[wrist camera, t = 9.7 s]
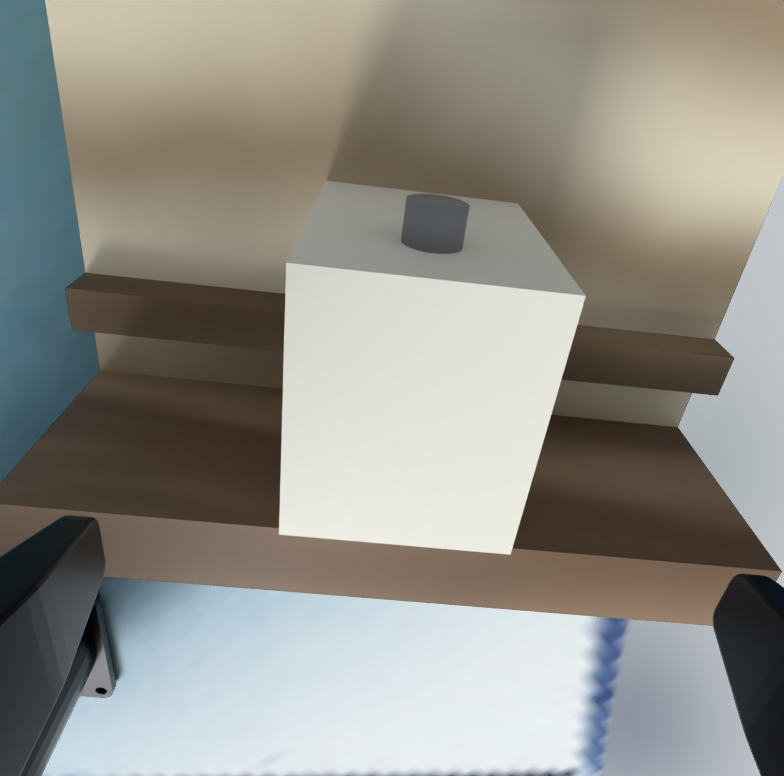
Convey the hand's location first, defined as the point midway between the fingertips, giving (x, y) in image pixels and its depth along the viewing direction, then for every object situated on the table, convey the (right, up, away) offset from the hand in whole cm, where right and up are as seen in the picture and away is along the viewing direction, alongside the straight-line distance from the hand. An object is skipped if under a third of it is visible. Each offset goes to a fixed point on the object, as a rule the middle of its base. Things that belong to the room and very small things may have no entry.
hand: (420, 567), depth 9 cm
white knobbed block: (0, +5, +9) cm, 10 cm away
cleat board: (0, +8, +8) cm, 11 cm away
